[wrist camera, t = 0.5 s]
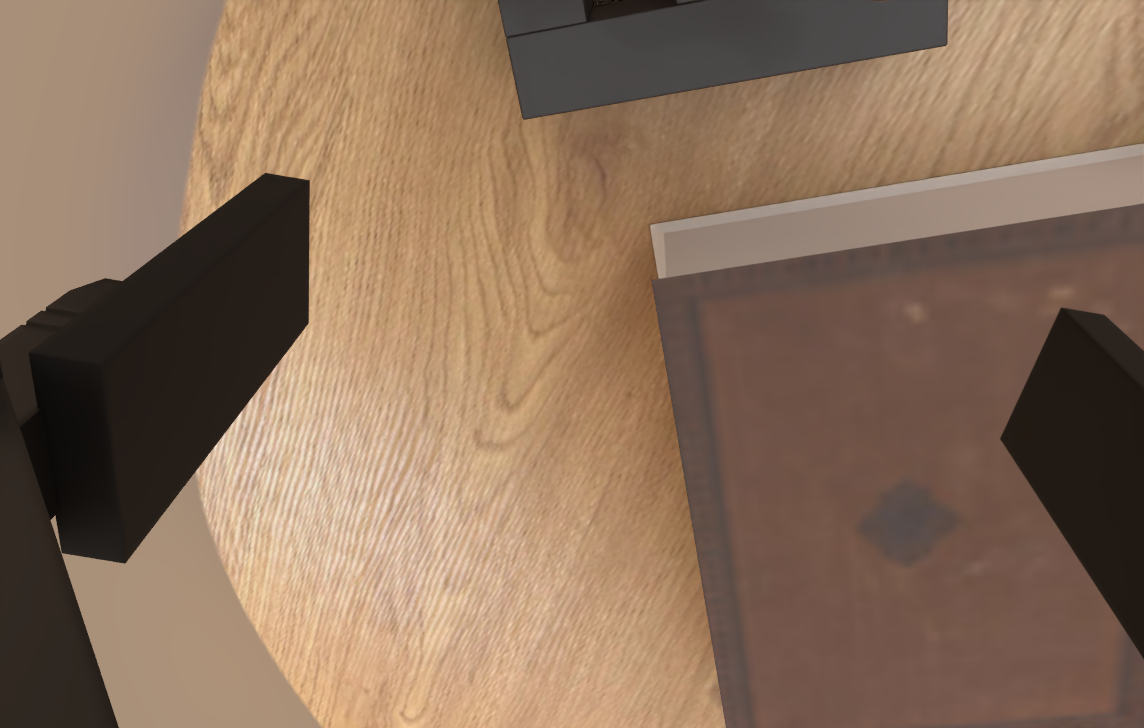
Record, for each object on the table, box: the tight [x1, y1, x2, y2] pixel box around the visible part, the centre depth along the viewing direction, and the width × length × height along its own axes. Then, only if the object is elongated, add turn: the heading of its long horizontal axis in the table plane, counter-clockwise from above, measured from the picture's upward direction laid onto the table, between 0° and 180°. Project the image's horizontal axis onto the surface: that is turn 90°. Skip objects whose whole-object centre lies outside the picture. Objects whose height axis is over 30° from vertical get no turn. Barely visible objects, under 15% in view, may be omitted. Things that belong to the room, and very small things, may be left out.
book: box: [650, 143, 1144, 728], centre depth 42 cm, size 24×28×6 cm
